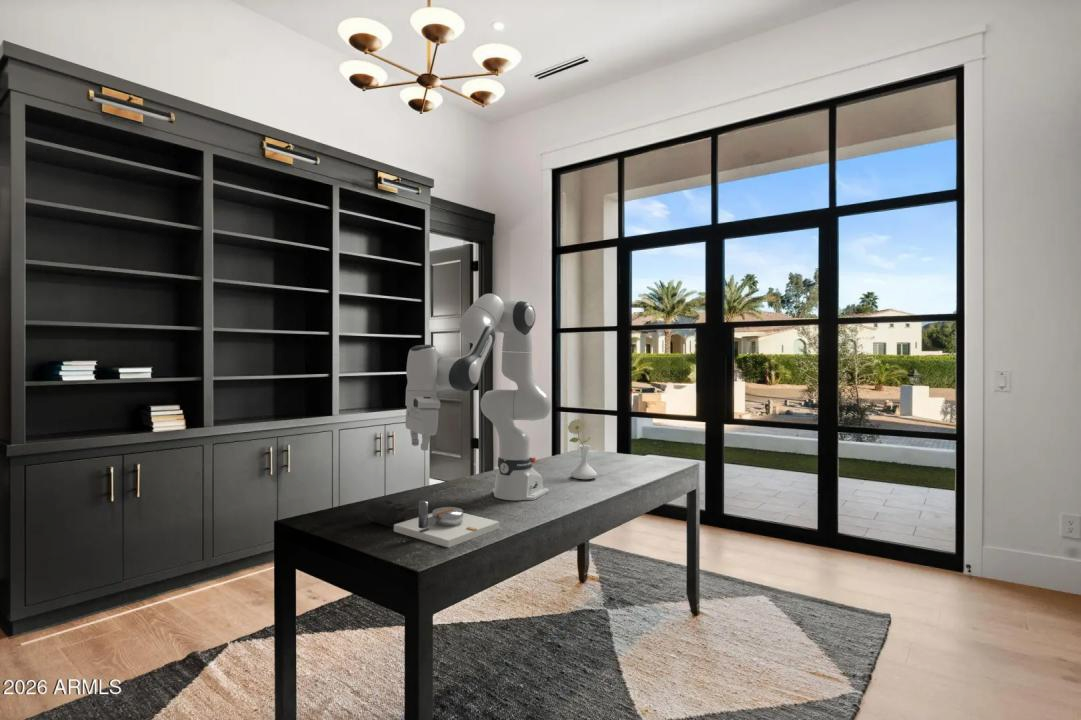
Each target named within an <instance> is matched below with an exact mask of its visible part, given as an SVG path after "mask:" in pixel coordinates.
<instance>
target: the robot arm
mask: <svg viewBox="0 0 1081 720" xmlns="http://www.w3.org/2000/svg"><path fill="white" fill-rule="evenodd" d="M535 322H536V311H535V308H534V307H533V306H532V304H531V303H530V302H527V301H522V300H519V301H515V300H504V301H503V299H501V298H500V296H498V295H496V294H494V293H485V294H483V295H481V296H480V297H478V298H477V299H476V300H475V301H474V302H473V303H472V304H471V305H470V306H469V307H468V309H467V310H466V311H465V312H464V314H463V315H462V317H461V319H460V322H459V329H460V332H461V333H460V334H462V336H463V337H464V339H465V340H466V341H468V342H469V343H470V344H472V346H471V348H470V350H469V352H468V354H466V355H463V356H459V357H456V356H455V357H451V356H450V357H449V356H444V355H442V354H441V353H440V352H438V351H437V348H436V346H435V345H433V344H421V345H415V346H412V347H411V348H410V349H409V351H408V355H407V361H406V374H405V375H406V379H407V382H406V383H407V384H406V387H405V406H406V410H405V411H406V412H405V428H406V429H407V430H409V431H410V432H409V433H410V438H411V446H414V447H417V446H419V444H420V450H422V451H428V450H429V444H430V442H431V441H430V440H431V436H432V437H433V436H436V435H437V432H438V426H439V425H438V423H439V410H438V409H441V400H440V399H439V397H438V394H437V393H438V392H437V390H438V389H443V390H457V391H463V392H470V391H472V390H474V388H475V387H476V386H477V385H478V384H479V382H480V379H481V375H482V372H483V368H484V366H485V365H486V362H487V360H488V358H489V355H490V353H491V351H492V348H493V346H494V344H495V341H496V333H501V334H503V337H502V349H501V372H502V375H503V376H504V377H505V378H507V379H508V380H509V381H511V382H514V383H515V384H516V386H517V389H491V390H488V391H486V392H484V394H483V395H482V397H481V399H480V403H479V405H480V409H481V413H482V414H483V415H484V416H485V417H486V418H487V419H488V420H489V421H490V422H491V424H492V425H493V426H494V427H495V429H496V432H497V435H498V447H499V448H498V449H499V451H498V453H499V454H498V458H497V468H498V469H497V470H496V475H495V481H494V482H495V483H494V488H493V489H492V493H493V496H494V498H497V499H500V500H504V501H535V500H537V499H539V498H541V497H542V496H544V495H546V494H548V493H550V489H549V488H547V487H545V486H544V484H543V483H544V481H543V477H542V475H541V473H539V472H538V471H536V469H535V468H534V467H533V464H536V462H537V459H536V457H534V456H531V457H530V444H531V443H530V440H531V439H530V437H529V435H528V433H527V432H525V431H524V430H522V429H520V428H518V427H517V426H516V424H515V421H539V420H544V419H545V418H547V417H548V416H549V414H550V411H551V408H552V402H551V399H550V397H549V396H548V394H547V393H546V392H545V391H543V390H542V389H541V388H540V386H539V385H538V384H537V382H536V380H535V377H534V372H533V340H532V332H531V330H532V328H533V327H534V325H535ZM419 435H421V443H419V441H420V440H419ZM532 463H533V464H532Z"/></svg>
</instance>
